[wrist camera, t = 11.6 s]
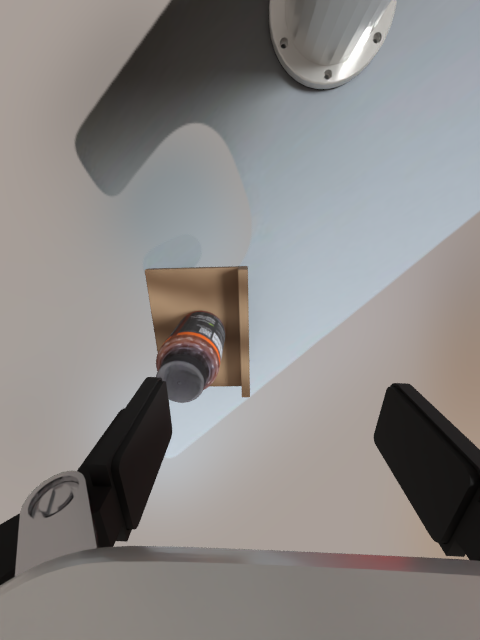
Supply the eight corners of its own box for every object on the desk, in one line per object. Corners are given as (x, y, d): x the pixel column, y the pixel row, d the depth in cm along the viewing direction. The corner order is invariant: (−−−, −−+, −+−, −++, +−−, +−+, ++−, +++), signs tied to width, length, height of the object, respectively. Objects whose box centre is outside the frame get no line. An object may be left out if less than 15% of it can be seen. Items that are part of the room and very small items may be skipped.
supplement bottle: (181, 352, 31) (146, 412, 20) (177, 308, 29) (136, 349, 18) (226, 353, 30) (216, 414, 20) (226, 309, 28) (214, 350, 18)
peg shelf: (162, 264, 33) (135, 272, 25) (247, 262, 33) (247, 269, 25) (175, 364, 38) (156, 397, 30) (248, 363, 38) (249, 397, 30)
